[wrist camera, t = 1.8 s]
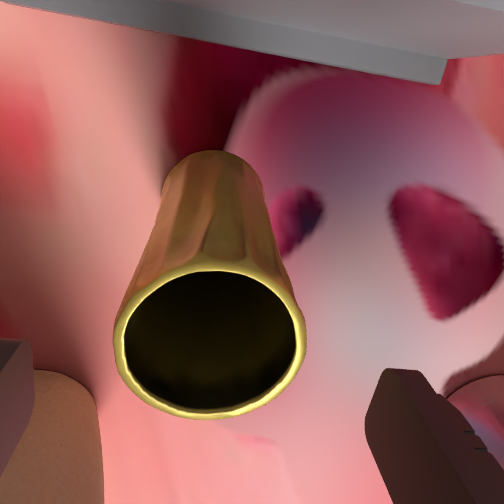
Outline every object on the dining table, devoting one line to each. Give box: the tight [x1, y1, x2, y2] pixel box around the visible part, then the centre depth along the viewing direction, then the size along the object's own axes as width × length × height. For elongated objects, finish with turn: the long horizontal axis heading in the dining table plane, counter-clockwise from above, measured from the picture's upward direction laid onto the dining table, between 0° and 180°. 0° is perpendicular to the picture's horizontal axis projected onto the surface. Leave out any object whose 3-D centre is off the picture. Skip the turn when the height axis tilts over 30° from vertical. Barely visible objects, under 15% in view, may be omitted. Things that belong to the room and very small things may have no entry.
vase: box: [113, 150, 307, 420], centre depth 17 cm, size 6×6×14 cm
